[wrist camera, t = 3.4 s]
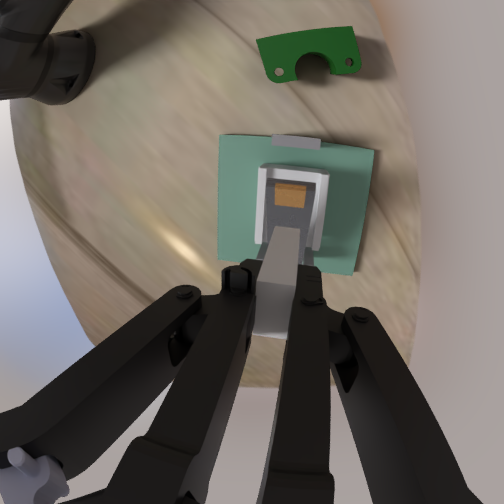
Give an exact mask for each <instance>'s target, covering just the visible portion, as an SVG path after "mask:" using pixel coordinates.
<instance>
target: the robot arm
mask: <svg viewBox="0 0 504 504" xmlns="http://www.w3.org/2000/svg"><path fill="white" fill-rule="evenodd" d="M72 1H73V0H0V100H7V99H16V98H28V97H29V98H32V99H35V100H37V101H40V102H42V103H45V104H47V105H63V104H66V103H68V102H69V101H71V100H72V99H73V98H74V97H76V95H77V94H78V93H79V92H80V91H81V89H82V88H83V86H84V85H85V83H86V81H87V80H88V77H89V75H90V73H91V70H92V67H93V63H94V59H95V44H94V40H93V38H92V37H91V35H90V34H88V33H87V32H83V31H79V30H68V31H63V32H57V33H52V34H49V33H50V31H51V30H52V28H53V27H54V26H55V24H56V23H57V21H58V20H59V18H60V17H61V16H62V14H63V13H64V12H65V10H66V9H67V8H68V6H69V5H70V4H71V3H72ZM299 239H300V229H297V228H289V227H280V226H275V228H274V231H273V234H272V237H271V240H270V243H269V246H268V249H267V251H266V254H265V257H264V260H256V259H248V258H247V259H246V260H244V261H242V262H241V263H240V265H235V266H229V267H226V268H224V269H223V270H222V289H221V291H220V293H219V294H216V295H201V291H200V289H199V288H197V287H195V286H192V285H180V286H176V287H174V288H172V289H171V290H170V291H168V292H167V293H166V294H164V295H163V296H162V297H160V298H159V299H158V300H156V301H155V302H154V303H152V304H151V305H150V306H148V307H147V308H146V309H144V310H143V311H142V312H140V313H139V314H138V315H136V316H135V317H134V318H132V319H131V320H130V321H128V322H127V323H126V324H124V325H123V326H122V327H121V328H119V329H118V330H117V331H115V332H114V333H113V334H111V335H110V336H109V337H108V338H106V339H105V340H104V341H102V342H101V343H100V344H98V345H97V346H96V347H95V348H93V349H92V350H91V351H89V352H88V353H87V354H86V355H84V356H83V357H82V358H80V359H79V360H78V361H77V362H75V363H74V364H73V365H72V366H70V367H69V368H68V369H67V370H65V371H64V372H63V373H62V374H60V375H59V376H58V377H57V378H55V379H54V380H53V381H51V382H50V383H49V384H48V385H46V386H45V387H44V388H43V389H41V390H40V391H39V392H38V393H36V394H35V395H34V396H33V397H32V398H30V399H29V400H28V401H27V402H26V403H24V404H23V405H22V406H19V407H16V408H14V409H11V410H8V411H6V412H3V413H0V493H1V495H2V498H3V501H4V503H5V504H54V503H55V501H56V500H57V499H58V498H60V497H65V496H67V495H68V494H69V486H68V485H67V482H66V481H68V480H69V479H72V478H74V477H76V476H77V475H79V474H80V473H82V472H83V471H85V470H86V469H87V468H88V467H90V466H91V465H92V464H93V463H94V462H95V461H96V460H97V459H98V458H99V457H100V456H101V455H102V454H103V453H104V452H105V451H106V450H107V449H108V448H109V447H110V446H111V445H112V444H113V443H114V442H115V441H116V440H117V439H118V438H119V437H120V436H121V435H122V434H123V433H124V431H126V429H127V428H128V427H129V426H130V425H131V424H132V423H133V422H134V421H135V420H136V419H137V418H138V417H139V416H140V415H141V414H142V413H143V412H144V411H145V410H146V408H147V407H148V406H149V405H150V404H151V403H152V402H153V401H154V400H155V399H156V398H157V397H158V396H159V395H160V393H161V392H162V391H163V390H164V389H165V388H166V387H167V386H168V385H169V384H170V383H171V382H172V381H173V379H174V378H175V379H174V381H173V383H172V385H171V387H170V389H169V391H168V393H167V395H166V397H165V399H164V401H163V403H162V405H161V406H160V409H159V411H158V412H157V414H156V416H155V418H154V420H153V422H152V424H151V426H150V428H149V430H148V432H147V433H146V434H145V435H144V436H140V437H136V438H135V439H134V440H132V442H131V443H130V445H129V446H128V448H127V449H126V451H125V453H124V455H123V457H122V459H121V461H120V463H119V465H118V467H117V469H116V470H115V472H114V474H113V476H112V478H111V480H110V482H109V484H108V486H107V488H105V489H102V490H99V491H96V492H93V493H91V494H88V495H85V496H82V497H79V498H76V499H73V500H69V501H66V502H62V503H58V504H204V503H205V501H206V497H207V493H208V485H209V481H210V477H211V474H212V471H213V468H214V465H215V461H216V458H217V455H218V452H219V449H220V446H221V442H222V439H223V436H224V433H225V429H226V426H227V423H228V420H229V416H230V413H231V410H232V406H233V403H234V400H235V396H236V393H237V389H238V386H239V383H240V379H241V376H242V372H243V369H244V365H245V362H246V358H247V355H248V351H249V348H250V344H251V335H252V331H253V335H259V336H265V337H272V338H280V339H287V340H286V345H285V351H284V356H283V366H282V372H281V379H280V385H279V391H278V398H277V403H276V409H275V415H274V421H273V427H272V432H271V437H270V442H269V448H268V453H267V458H266V463H265V468H264V473H263V478H262V482H261V486H260V491H259V495H258V498H257V502H256V504H334V491H335V487H334V485H335V484H334V477H333V475H332V474H331V473H330V471H329V454H330V416H331V414H330V411H331V403H330V402H331V400H330V369H331V372H332V375H333V378H334V380H335V383H336V386H337V389H338V392H339V395H340V398H341V401H342V404H343V407H344V410H345V413H346V416H347V419H348V422H349V425H350V428H351V432H352V435H353V438H354V441H355V444H356V447H357V451H358V454H359V457H360V461H361V464H362V467H363V471H364V474H365V477H366V481H367V484H368V487H369V491H370V495H371V498H372V502H373V504H483V503H482V502H481V501H480V500H479V499H478V498H477V497H476V496H475V495H474V494H473V493H472V492H471V491H470V490H469V488H468V487H467V484H466V482H465V480H464V477H463V475H462V473H461V470H460V468H459V466H458V463H457V461H456V459H455V457H454V455H453V452H452V450H451V448H450V446H449V444H448V442H447V440H446V438H445V436H444V434H443V432H442V430H441V428H440V426H439V424H438V422H437V420H436V418H435V416H434V414H433V412H432V410H431V408H430V407H429V404H428V403H427V401H426V399H425V397H424V395H423V393H422V392H421V390H420V388H419V387H418V384H417V383H416V381H415V379H414V377H413V376H412V374H411V372H410V371H409V369H408V367H407V365H406V364H405V362H404V360H403V359H402V357H401V355H400V354H399V352H398V350H397V349H396V347H395V345H394V344H393V342H392V341H391V339H390V337H389V336H388V334H387V333H386V331H385V329H384V328H383V326H382V325H381V323H380V322H379V320H378V319H377V317H376V316H375V314H374V313H373V312H371V311H370V310H368V309H366V308H363V307H351V308H348V309H347V310H346V311H345V313H344V314H343V313H340V312H337V311H335V310H332V309H331V308H329V307H328V306H327V303H326V300H325V299H324V298H323V291H322V278H321V271H320V270H319V269H318V267H317V266H310V265H302V264H298V254H299Z"/></svg>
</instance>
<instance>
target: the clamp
mask: <svg viewBox="0 0 504 504" xmlns="http://www.w3.org/2000/svg"><path fill="white" fill-rule="evenodd" d="M256 42H257V45H258V48H259V51H260V55H261V58H262V61H263V65H264V68H265V71H266V75H267V77H268V78H269V79H270V80H271V81H272V82H275V83H284V82H289V81H294V80H298V79H297V77H296V74H295V64H296V62H297V60H298V59H299V58H300V57H301V56H303V55H307V54H314V55H318V56H320V57H322V58H323V59H324V60H325V61H326V62H327V63H328V65H329V68H330V74H335V75H337V74H348V73H355V72H357V71H359V69H360V68H361V58H360V54H359V50H358V46H357V42H356V38H355V35H354V31H353V28H352V26H346V27H331V28H321V29H312V30H305V31H298V32H291V33H286V34H280V35H275V36H270V37H265V38H261V39H256ZM347 58H348V59H350V60H351V61H352V64H351V66H347V65H346V63H345V60H346V59H347ZM276 68H282V69H283V70H284V74H283V75H282V76H277V75H276V74H275V72H274V71H275V69H276Z"/></svg>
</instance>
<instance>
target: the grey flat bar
mask: <svg viewBox="0 0 504 504" xmlns="http://www.w3.org/2000/svg"><path fill="white" fill-rule="evenodd" d="M315 193H316V183H313V182H305V181H296V180H286V179H276V178H267V182H266V210H267V247H268V246H269V243H270V240H271V237H272V234H273V231H274V228H275V226H280V227H289V228H297V229H300V239H299V254H298V264H302V262H303V257H304V252H305V247H306V242H307V237H308V232H309V227H310V221H311V216H312V210H313V205H314V199H315Z"/></svg>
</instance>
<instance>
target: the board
mask: <svg viewBox="0 0 504 504" xmlns="http://www.w3.org/2000/svg"><path fill="white" fill-rule="evenodd" d="M373 158H374V150H371V149H365V148H359V147H353V146H347V145H341V144H334V143H327V142H321V139H318V138H310V137H301V136H291V135H279V134H272V137H265V136H246V135H219V163H218V260H226V261H233V262H242V261H244V260H246V259H247V258H248V259H256V260H264V257H265V254H266V251H267V249H268V247H267V210H266V182H267V178H276V179H286V180H296V181H305V182H313V183H316V193H315V199H314V205H313V210H312V216H311V221H310V227H309V232H308V237H307V242H306V247H305V252H304V257H303V262H302V265H310V266H317V267H318V269H319V270H320V271H321V272H324V273H333V274H341V275H350V276H352V275H353V271H354V267H355V262H356V258H357V253H358V249H359V244H360V239H361V234H362V229H363V224H364V218H365V213H366V207H367V201H368V195H369V188H370V181H371V174H372V166H373Z"/></svg>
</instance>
